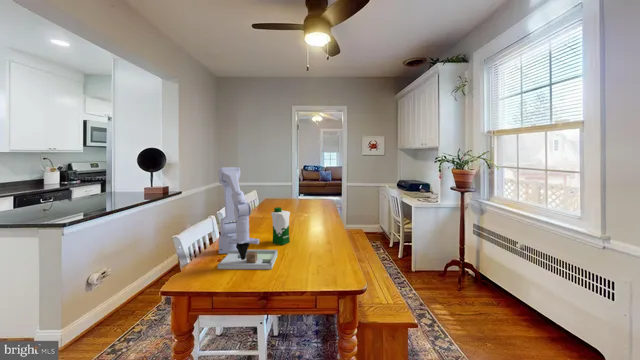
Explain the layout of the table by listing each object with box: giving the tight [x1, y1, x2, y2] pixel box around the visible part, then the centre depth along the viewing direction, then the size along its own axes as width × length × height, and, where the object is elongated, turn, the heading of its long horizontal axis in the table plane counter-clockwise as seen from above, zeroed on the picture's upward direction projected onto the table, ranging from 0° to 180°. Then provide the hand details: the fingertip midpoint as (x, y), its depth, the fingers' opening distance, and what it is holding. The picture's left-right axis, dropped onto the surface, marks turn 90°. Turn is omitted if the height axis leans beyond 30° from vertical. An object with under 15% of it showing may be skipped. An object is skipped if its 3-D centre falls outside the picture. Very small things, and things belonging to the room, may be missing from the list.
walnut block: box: [246, 252, 257, 263], centre depth 128 cm, size 4×4×4 cm
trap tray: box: [217, 249, 278, 270], centre depth 132 cm, size 24×16×3 cm, turn 90°
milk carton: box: [270, 206, 291, 246], centre depth 159 cm, size 9×9×20 cm
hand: (243, 258), depth 128 cm, fingers closed
